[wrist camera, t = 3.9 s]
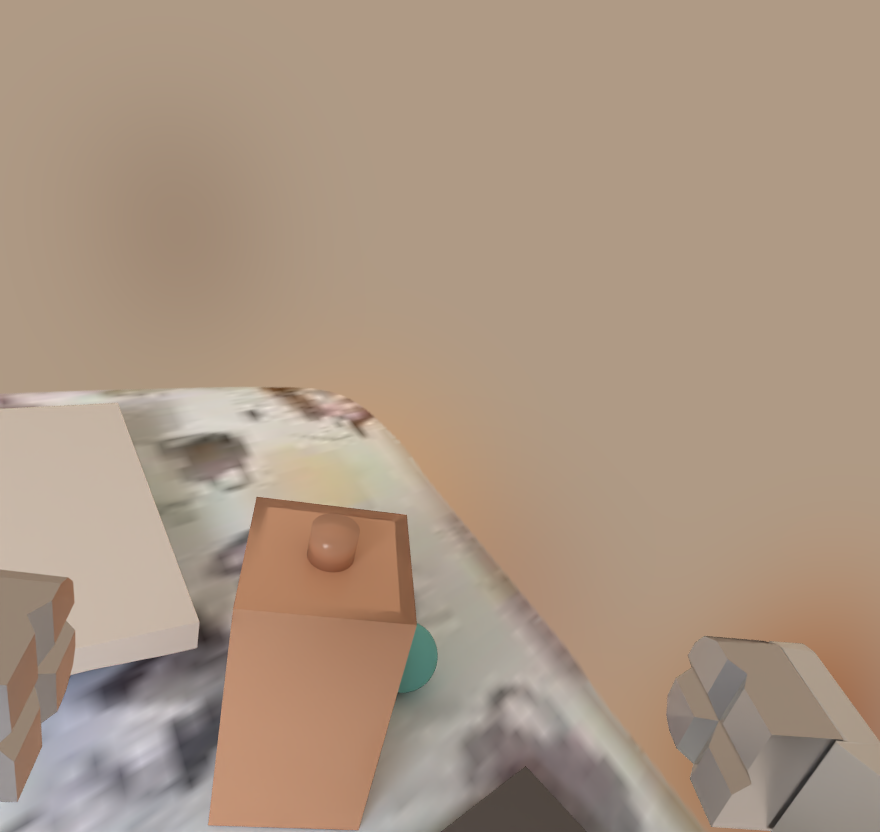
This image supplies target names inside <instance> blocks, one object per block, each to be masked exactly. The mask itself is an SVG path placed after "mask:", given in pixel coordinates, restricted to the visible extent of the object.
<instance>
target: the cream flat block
mask: <svg viewBox="0 0 880 832" xmlns="http://www.w3.org/2000/svg"><path fill="white" fill-rule="evenodd" d="M0 570H9V571H17V572H26V573H35V574H43V575H52V576H61V577H68V578H70V579H71V580H72V581H73V586H74V601H75V603H74V605H73V607H72V609H71V611H70V613H69V615H68V617H67V619H66V621H67V622H68V623H69V624H70V625H71V626H72V627H73V628H74V629H75V653H74V661H73V667H72V670H71V674H70V675H73V674H77V673H81V672H85V671H89V670H93V669H98V668H103V667H108V666H113V665H119V664H124V663H128V662H133V661H138V660H143V659H148V658H154V657H159V656H164V655H168V654H172V653H177V652H181V651H186V650H190V649H194V648H197V643H198V632H199V619H198V616H197V614H196V611H195V608H194V606H193V603H192V600H191V598H190V595H189V592H188V590H187V587H186V584H185V582H184V579H183V576H182V574H181V571H180V568H179V566H178V563H177V560H176V558H175V555H174V552H173V550H172V547H171V544H170V542H169V539H168V536H167V533H166V531H165V528H164V525H163V523H162V520H161V517H160V515H159V512H158V509H157V507H156V504H155V501H154V499H153V496H152V493H151V491H150V488H149V485H148V483H147V480H146V477H145V475H144V472H143V469H142V467H141V464H140V461H139V458H138V456H137V453H136V450H135V448H134V445H133V442H132V440H131V437H130V434H129V432H128V429H127V426H126V424H125V421H124V418H123V416H122V413H121V410H120V408H119V405H118V403H107V404H87V405H67V406H47V407H27V408H7V409H0Z"/></svg>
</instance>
